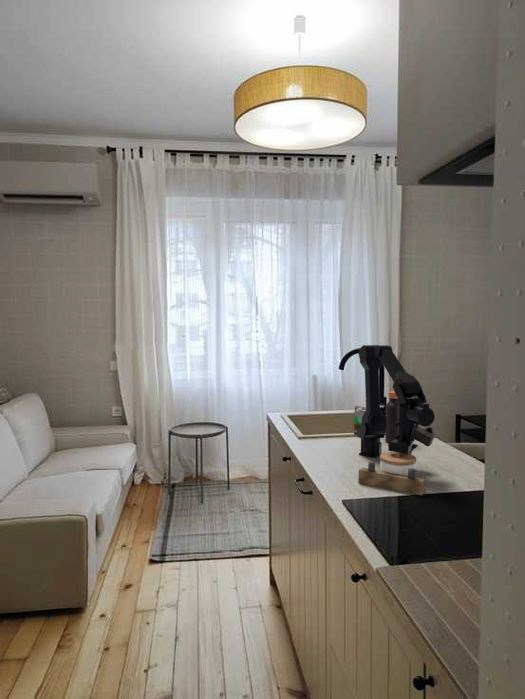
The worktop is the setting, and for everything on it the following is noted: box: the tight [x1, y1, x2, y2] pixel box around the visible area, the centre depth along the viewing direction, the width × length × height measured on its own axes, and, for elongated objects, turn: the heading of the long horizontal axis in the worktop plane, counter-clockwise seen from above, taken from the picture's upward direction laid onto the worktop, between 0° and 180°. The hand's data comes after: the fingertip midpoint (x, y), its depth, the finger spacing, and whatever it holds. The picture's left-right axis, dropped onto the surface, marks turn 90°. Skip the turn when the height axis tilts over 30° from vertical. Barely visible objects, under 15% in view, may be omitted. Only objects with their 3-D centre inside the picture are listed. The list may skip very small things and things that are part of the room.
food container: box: [353, 405, 366, 435], centre depth 215 cm, size 12×6×10 cm, turn 168°
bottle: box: [384, 390, 399, 444], centre depth 198 cm, size 7×7×20 cm
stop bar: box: [357, 461, 426, 496], centre depth 148 cm, size 19×3×6 cm, turn 58°
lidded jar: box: [379, 451, 417, 476], centre depth 153 cm, size 11×11×9 cm
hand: (405, 467), depth 161 cm, fingers closed
